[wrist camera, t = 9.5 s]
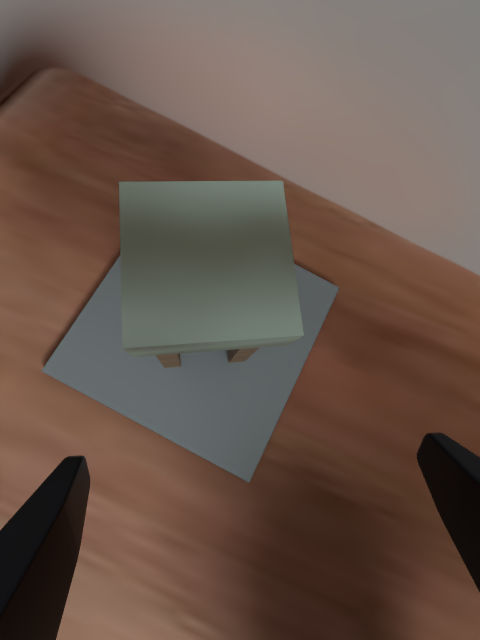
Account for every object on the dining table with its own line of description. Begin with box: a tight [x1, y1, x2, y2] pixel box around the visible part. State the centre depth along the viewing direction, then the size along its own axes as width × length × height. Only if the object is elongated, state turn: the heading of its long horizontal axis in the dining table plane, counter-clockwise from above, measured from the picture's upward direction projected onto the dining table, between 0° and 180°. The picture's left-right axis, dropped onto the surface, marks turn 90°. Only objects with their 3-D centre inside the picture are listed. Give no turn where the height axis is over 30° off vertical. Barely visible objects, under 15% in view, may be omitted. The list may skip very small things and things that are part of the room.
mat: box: [42, 256, 339, 482], centre depth 23 cm, size 14×14×1 cm
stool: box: [119, 181, 304, 368], centre depth 18 cm, size 6×6×11 cm
